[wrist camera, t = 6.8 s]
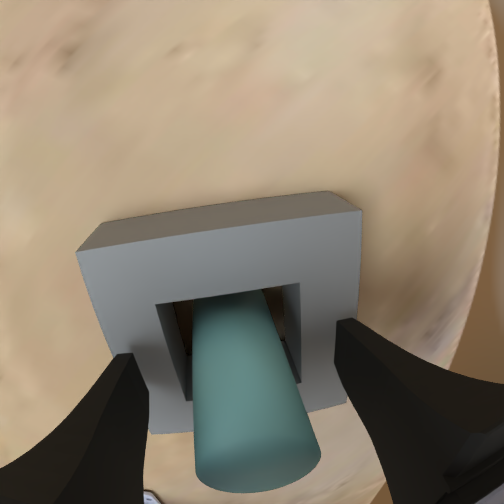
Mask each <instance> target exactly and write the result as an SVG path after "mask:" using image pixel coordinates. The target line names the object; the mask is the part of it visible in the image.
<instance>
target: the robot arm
mask: <svg viewBox="0 0 504 504" xmlns="http://www.w3.org/2000/svg"><path fill="white" fill-rule="evenodd" d="M334 365H335V368H336V370H337V373H338V376H339V378H340V381H341V383H342V386H343V388H344V390H345V391H346V393H347V395H348V397H349V399H350V401H351V402H352V404H353V406H354V408H355V410H356V411H357V413H358V415H359V417H360V419H361V420H362V422H363V424H364V426H365V428H366V429H367V431H368V434H369V436H370V438H371V440H372V442H373V445H374V447H375V450H376V453H377V455H378V458H379V460H380V463H381V466H382V469H383V472H384V475H385V477H386V481H387V484H388V487H389V490H390V493H391V497H392V500H393V504H504V384H498V383H493V382H488V381H483V380H478V379H474V378H470V377H467V376H464V375H461V374H457V373H454V372H451V371H449V370H446V369H443V368H441V367H438V366H436V365H434V364H431V363H429V362H427V361H425V360H423V359H421V358H419V357H417V356H415V355H413V354H411V353H409V352H407V351H405V350H404V349H402V348H400V347H398V346H397V345H395V344H393V343H392V342H390V341H388V340H387V339H385V338H384V337H382V336H381V335H379V334H377V333H376V332H374V331H373V330H371V329H370V328H368V327H367V326H365V325H364V324H362V323H361V322H359V321H357V320H356V319H354V318H352V317H351V318H347V319H342V320H338V321H336V338H335V353H334ZM148 424H149V390H148V388H147V386H146V383H145V381H144V379H143V376H142V374H141V372H140V369H139V367H138V364H137V362H136V359H135V357H134V354H133V353H121V354H117V355H116V356H115V357H114V358H113V360H112V361H111V362H110V364H109V365H108V366H107V368H106V369H105V370H104V372H103V373H102V374H101V376H100V377H99V378H98V380H97V381H96V382H95V384H94V385H93V386H92V387H91V389H90V390H89V391H88V393H87V394H86V395H85V396H84V398H83V399H82V400H81V401H80V402H79V403H78V405H77V406H76V407H75V408H74V409H73V411H72V412H71V413H70V414H69V415H68V416H67V417H66V418H65V419H64V420H63V421H62V422H61V423H60V424H59V425H58V426H57V427H56V428H55V429H54V430H53V431H52V432H51V433H50V434H49V435H48V436H46V437H45V438H44V439H43V440H42V441H40V442H39V443H38V444H37V445H36V446H34V447H33V448H32V449H30V450H29V451H28V452H26V453H25V454H23V455H22V456H20V457H19V458H17V459H16V460H14V461H13V462H11V463H9V464H8V465H6V466H4V467H2V468H0V504H161V503H160V502H159V501H158V499H157V498H156V497H155V496H154V495H153V494H152V493H150V492H144V489H143V468H144V458H145V449H146V441H147V432H148Z"/></svg>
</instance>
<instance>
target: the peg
mask: <svg viewBox="0 0 504 504" xmlns="http://www.w3.org/2000/svg"><path fill="white" fill-rule="evenodd" d="M192 380H193V424H194V450H195V470H196V475H197V477H198V479H199V480H200V481H201V482H202V483H204V484H205V485H207V486H209V487H211V488H214V489H216V490H220V491H225V492H232V493H256V492H263V491H268V490H273V489H277V488H280V487H283V486H286V485H288V484H291V483H293V482H295V481H297V480H299V479H301V478H302V477H304V476H305V475H307V474H308V473H309V472H311V471H312V470H313V469H314V468H315V467H316V465H317V464H318V462H319V461H320V458H321V451H320V447H319V445H318V442H317V439H316V437H315V434H314V431H313V428H312V426H311V423H310V420H309V417H308V415H307V412H306V409H305V407H304V404H303V401H302V398H301V396H300V393H299V390H298V387H297V385H296V382H295V379H294V376H293V374H292V371H291V368H290V366H289V363H288V360H287V357H286V355H285V352H284V349H283V346H282V344H281V341H280V338H279V335H278V333H277V330H276V327H275V324H274V322H273V319H272V316H271V313H270V311H269V308H268V305H267V302H266V300H265V297H264V294H263V292H262V290H261V289H257V290H250V291H244V292H238V293H231V294H224V295H218V296H211V297H204V298H197V299H194V300H193V322H192Z"/></svg>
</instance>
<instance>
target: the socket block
mask: <svg viewBox="0 0 504 504" xmlns="http://www.w3.org/2000/svg"><path fill="white" fill-rule="evenodd" d="M361 239H362V210H361V209H359V208H357V207H356V206H354V205H352V204H351V203H349V202H347V201H346V200H344V199H342V198H340V197H339V196H337V195H335V194H334V193H332V192H330V191H321V192H312V193H303V194H294V195H285V196H277V197H268V198H260V199H253V200H245V201H237V202H230V203H223V204H216V205H209V206H202V207H195V208H189V209H182V210H176V211H170V212H164V213H158V214H152V215H146V216H140V217H134V218H128V219H123V220H117V221H112V222H106V223H101V224H100V225H99V226H98V227H97V228H96V229H95V231H94V232H93V233H92V234H91V235H90V236H89V237H88V238H87V239H86V241H85V242H84V243H83V244H82V245H81V246H80V247H79V249H78V250H77V251H76V252H75V253H76V256H77V260H78V263H79V266H80V269H81V272H82V276H83V279H84V282H85V285H86V288H87V291H88V294H89V296H90V299H91V302H92V305H93V308H94V310H95V313H96V316H97V318H98V321H99V324H100V326H101V329H102V331H103V334H104V336H105V339H106V341H107V344H108V346H109V348H110V351H111V353H112V355H113V358H114V357H115V356H116V355H117V354H121V353H133V354H134V357H135V359H136V362H137V364H138V367H139V369H140V372H141V374H142V376H143V379H144V381H145V383H146V386H147V388H148V390H149V424H148V429H149V431H150V433H151V434H169V433H182V432H193V431H194V424H193V380H192V355H189V356H187V355H186V352H185V348H184V345H183V341H182V338H181V334H180V330H179V327H178V323H177V319H176V315H175V311H174V307H173V303H172V302H176V301H183V300H190V299H197V298H204V297H211V296H218V295H224V294H231V293H238V292H244V291H250V290H257V289H263V288H269V287H275V286H281V285H282V292H283V309H284V327H285V340H284V341H281V344H282V346H283V349H284V352H285V355H286V357H287V360H288V363H289V366H290V368H291V371H292V374H293V376H294V379H295V382H296V385H297V387H298V390H299V393H300V396H301V398H302V401H303V404H304V407H305V409H306V412H307V413H308V412H313V411H317V410H321V409H325V408H329V407H333V406H336V405H340V404H344V403H346V400H347V393H346V391H345V390H344V388H343V386H342V383H341V381H340V378H339V376H338V373H337V370H336V368H335V365H334V353H335V338H336V321H338V320H342V319H347V318H351V317H352V318H354V319H356V320H357V309H358V296H359V282H360V264H361Z"/></svg>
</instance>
